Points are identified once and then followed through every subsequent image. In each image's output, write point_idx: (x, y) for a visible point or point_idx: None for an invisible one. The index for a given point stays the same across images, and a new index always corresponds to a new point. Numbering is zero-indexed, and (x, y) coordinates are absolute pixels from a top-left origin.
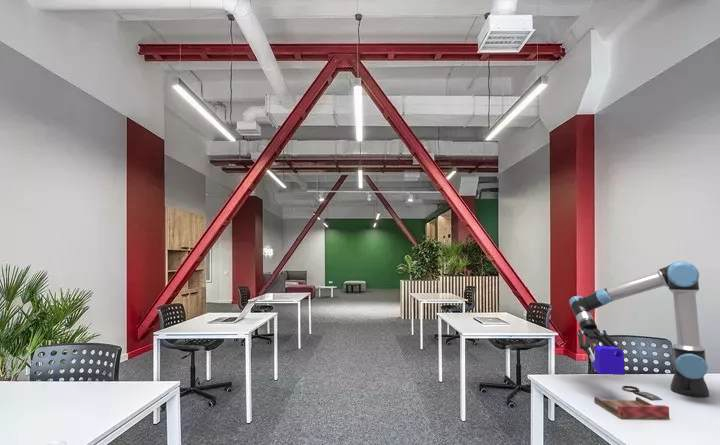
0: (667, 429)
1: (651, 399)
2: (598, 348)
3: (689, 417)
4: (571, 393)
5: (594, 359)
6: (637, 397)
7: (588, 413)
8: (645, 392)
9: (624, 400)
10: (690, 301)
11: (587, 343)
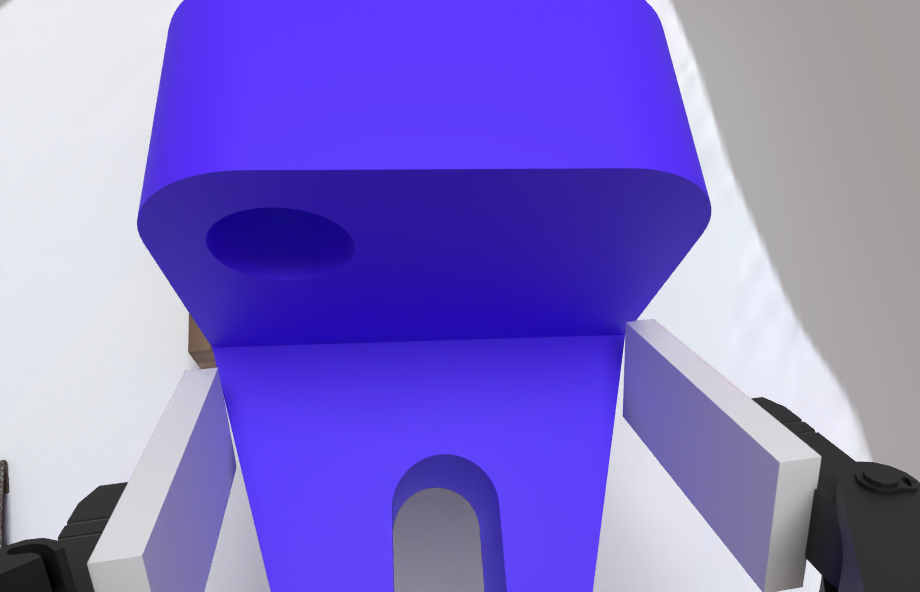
0: None
1: (2, 463)
2: (671, 88)
3: (25, 115)
4: (735, 559)
5: (646, 322)
6: (197, 341)
7: (687, 114)
8: None
9: None
10: None
11: (907, 567)
